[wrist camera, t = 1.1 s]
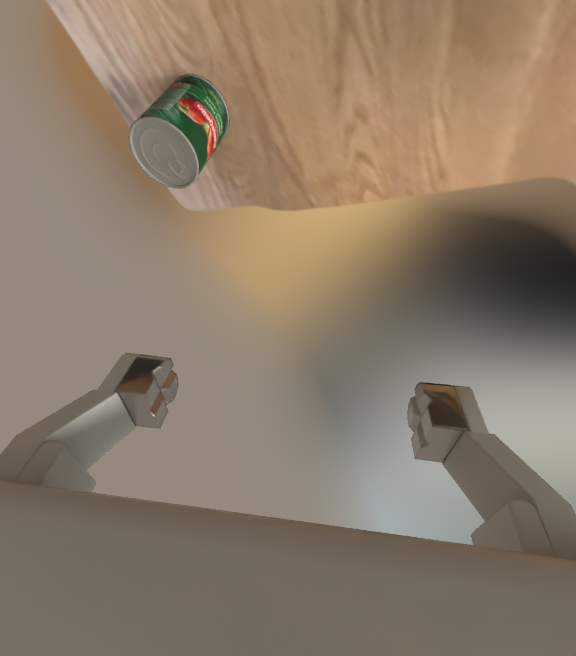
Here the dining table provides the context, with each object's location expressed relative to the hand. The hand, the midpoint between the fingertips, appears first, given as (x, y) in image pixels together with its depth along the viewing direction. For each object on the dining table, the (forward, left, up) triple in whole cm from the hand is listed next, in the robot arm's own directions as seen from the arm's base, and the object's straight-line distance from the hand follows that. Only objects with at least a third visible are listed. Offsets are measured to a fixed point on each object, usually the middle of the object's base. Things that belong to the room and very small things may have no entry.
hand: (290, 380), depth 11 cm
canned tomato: (+3, -22, -38) cm, 45 cm away
